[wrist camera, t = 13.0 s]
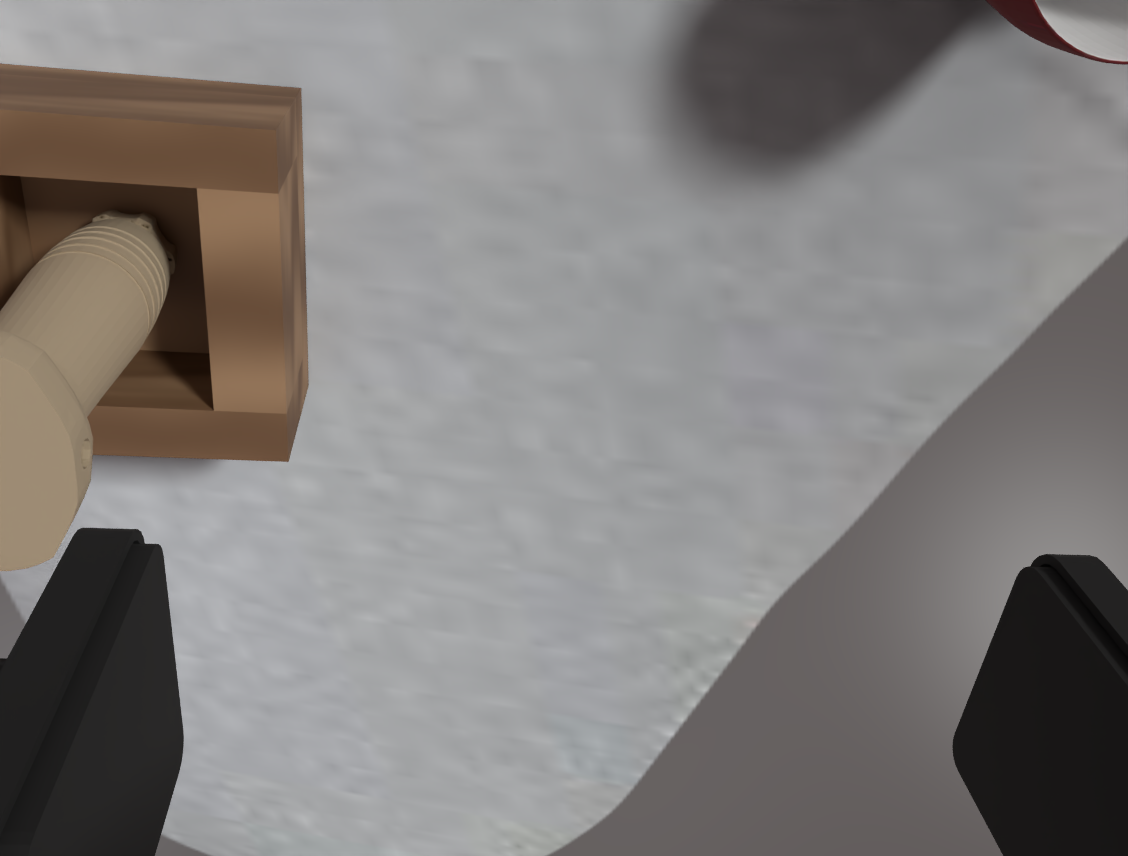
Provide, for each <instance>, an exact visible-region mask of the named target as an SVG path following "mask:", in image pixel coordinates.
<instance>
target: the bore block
mask: <svg viewBox="0 0 1128 856" xmlns="http://www.w3.org/2000/svg"><path fill="white" fill-rule="evenodd" d="M111 209H116V210H118V211H119V212H121V213H125V214H140V213H142V212H146V213H149V214H151V215H152V216H154V217H155V218H156V220H157V225H158V228H159V230H160V231H161V233H162V235H163V236H164V237H165V238H166V240H167V241H168V242H169V243H171V244H173V245H175V246H176V249H177V254H178V255H177V265H176V268H175V271H174V273H173V274H170V282H169V287H168V291H167V295H166V298H165V301H164V303H163V306H162V308H161V310H160V313H159V315H158V317H157V320H156V322H155V324H154V326H153V328H152V330H151V331H150V333H149V335H148V337H147V338H146V340H145V342H144V343H143V345H142V347H141V348H140V350H139V351H138V352H137V354H136V355H135V356H134V357H133V359H132V360H131V361H130V363H129V364H128V365H127V366H126V368H125V369H124V370H123V371H122V373H121V374H120V375H119V376H118V378H117V379H116V380H115V382H114V383H113V384H112V385H111V387H110V388H109V389H108V390H107V392H106V393H105V394H104V395H103V397H102V398H101V399H100V401H99V402H98V403H97V405H96V406H95V407H94V409H93V410H92V411H91V413H90V414H89V415H88V417H87V419H88V421H89V424H90V428H91V432H92V436H93V455H117V456H144V457H172V458H200V459H228V460H256V461H283V462H288V461H289V458H290V454H291V450H292V446H293V442H294V439H295V435H296V431H297V427H298V423H299V420H300V416H301V412H302V408H303V404H304V401H305V397H306V393H307V389H308V385H309V384H308V344H307V304H306V263H305V223H304V183H303V142H302V102H301V88H293V87H281V86H269V85H256V84H244V83H232V82H219V81H207V80H195V79H182V78H170V77H158V76H145V75H133V74H121V73H108V72H96V71H84V70H71V69H59V68H47V67H34V66H22V65H10V64H0V311H1V309H2V308H3V307H4V305H5V304H6V302H7V301H8V300H9V298H10V297H11V296H12V294H13V293H14V291H15V290H16V289H17V287H18V286H19V285H20V283H21V282H22V280H23V279H24V278H25V276H26V275H27V274H28V273H29V271H30V270H31V269H32V268H33V267H34V266H35V265H36V264H37V263H38V262H39V261H40V260H41V259H42V258H43V257H44V256H45V255H46V254H47V253H48V252H49V251H50V250H51V249H52V248H53V247H54V246H56V245H57V244H58V243H60V242H61V241H62V240H63V239H65V238H66V237H67V236H69V235H70V234H71V233H73V232H75V231H76V230H78V229H80V228H82V227H84V226H86V225H88V224H90V223H92V219H93V218H94V217H96V216H97V215H99V214H101V213H103V212H105V211H108V210H111Z"/></svg>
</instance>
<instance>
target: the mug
mask: <svg viewBox="0 0 1128 856" xmlns="http://www.w3.org/2000/svg"><path fill="white" fill-rule="evenodd" d="M986 1H987V2H988V3H989V4H990V5H991V6H992V7H993V8H994V9H996V10H997V11H998V12H999V13H1000V14H1001V15H1002V16H1003V17H1004V18H1006V19H1007V20H1008V21H1009V22H1010V23H1012V24H1013V25H1014V26H1015V27H1017V28H1018V29H1020V30H1021V31H1023V32H1024V33H1026V34H1027V35H1029V36H1030V37H1032V38H1034V39H1036V40H1038V41H1040V42H1042V43H1045V44H1047V45H1049V46H1052V47H1055V48H1057V49H1060V50H1063V51H1066V52H1069V53H1072V54H1074V55H1078V56H1081V57H1085V58H1088V59H1091V60H1095V61H1100V62H1104V63H1113V64H1128V0H986Z"/></svg>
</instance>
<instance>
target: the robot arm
mask: <svg viewBox="0 0 1128 856" xmlns="http://www.w3.org/2000/svg"><path fill="white" fill-rule="evenodd" d="M183 741H184V736H183V724H182V716H181V707H180V698H179V689H178V680H177V671H176V662H175V653H174V645H173V636H172V627H171V618H170V609H169V600H168V591H167V582H166V574H165V565H164V556H163V551H162V548H161V546H160V545H159V544H145V543H144V537H143V535H142V533H141V531H139V530H138V529H106V528H81V529H79V530H77V532H76V533H75V534H74V536H73V537H72V539H71V541H70V543H69V545H68V547H67V549H66V550H65V552H64V554H63V556H62V558H61V560H60V562H59V563H58V565H57V567H56V569H55V571H54V573H53V575H52V576H51V578H50V580H49V582H48V584H47V586H46V588H45V589H44V591H43V593H42V595H41V597H40V599H39V601H38V602H37V604H36V606H35V608H34V610H33V612H32V614H31V615H30V617H29V619H28V621H27V623H26V625H25V626H24V629H23V630H22V632H21V634H20V636H19V638H18V640H17V641H16V643H15V645H14V647H13V649H12V651H11V653H10V654H9V656H8V658H7V659H0V856H155V853H156V849H157V846H158V843H159V839H160V836H161V832H162V829H163V825H164V822H165V819H166V815H167V812H168V808H169V805H170V801H171V798H172V795H173V791H174V788H175V784H176V781H177V778H178V774H179V770H180V766H181V761H182V755H183ZM953 756H954V760H955V764H956V767H957V769H958V771H959V773H960V775H961V777H962V779H963V781H964V782H965V785H966V786H967V788H968V790H969V792H970V793H971V796H972V798H973V800H974V802H975V803H976V805H977V807H978V809H979V811H980V813H981V815H982V816H983V818H984V820H985V822H986V824H987V826H988V828H989V829H990V832H991V833H992V835H993V837H994V839H995V841H996V843H997V845H998V847H999V848H1000V850H1001V852H1002V854H1003V856H1128V590H1127V589H1126V588H1125V587H1124V586H1123V584H1122V583H1121V582H1120V581H1119V580H1118V579H1117V578H1116V576H1115V575H1114V574H1113V573H1112V572H1111V571H1110V570H1109V569H1108V567H1107V566H1106V565H1105V564H1104V563H1103V562H1102V561H1101V560H1099V559H1098V558H1097V557H1093V556H1090V555H1055V554H1045V555H1041V556H1039V557H1037V558H1036V559H1035V560H1034V561H1033V563H1032V564H1031V566H1030V567H1025V568H1023V569H1022V570H1021V571H1020V572H1019V574H1018V576H1017V577H1016V580H1015V582H1014V585H1013V587H1012V590H1011V593H1010V595H1009V598H1008V600H1007V603H1006V605H1005V608H1004V610H1003V613H1002V615H1001V618H1000V621H999V623H998V625H997V628H996V631H995V633H994V636H993V638H992V641H991V643H990V646H989V648H988V651H987V654H986V656H985V659H984V661H983V663H982V666H981V669H980V671H979V674H978V676H977V679H976V681H975V684H974V686H973V689H972V691H971V694H970V697H969V699H968V701H967V704H966V707H965V709H964V712H963V714H962V717H961V719H960V722H959V724H958V727H957V729H956V732H955V735H954V739H953Z"/></svg>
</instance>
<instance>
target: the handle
mask: <svg viewBox="0 0 1128 856" xmlns="http://www.w3.org/2000/svg"><path fill="white" fill-rule="evenodd" d="M177 255H178V254H177V249H176V246H175V245H173V244H171V243H169V242H168V241H167V240H166V238H165V237H164V236H163V235H162V233H161V231H160V230H159V228H158V225H157V220H156V218H155V217H154V216H152V215H151V214H149V213H146V212H142V213H140V214H125V213H121V212H119V211H118V210H116V209H111V210H108V211H105V212H103V213H101V214H99V215H97V216H96V217H94V218H93V219H92V223H90V224H88V225H86V226H84V227H82V228H80V229H78V230H76V231H75V232H73V233H71V234H70V235H69V236H67V237H66V238H65V239H63V240H62V241H61V242H60V243H58V244H57V245H56V246H54V247H53V248H52V249H51V250H50V251H49V252H48V253H47V254H46V255H45V256H44V257H43V258H42V259H41V260H40V261H39V262H38V263H37V264H36V265H35V266H34V267H33V268H32V269H31V270H30V271H29V273H28V274H27V275H26V276H25V278H24V279H23V280H22V282H21V283H20V285H19V286H18V287H17V289H16V290H15V291H14V293H13V294H12V296H11V297H10V298H9V300H8V301H7V302H6V304H5V305H4V307H3V308H2V309H1V311H0V571H11V570H18V569H25V568H29V567H32V566H35V565H38V564H41V563H43V562H45V561H47V560H49V559H51V558H53V557H54V555H55V553H56V551H57V550H58V548H59V546H60V544H61V542H62V540H63V539H64V537H65V535H66V533H67V531H68V529H69V527H70V525H71V523H72V521H73V519H74V518H75V516H76V514H77V512H78V509H79V507H80V505H81V503H82V501H83V499H84V497H85V494H86V491H87V489H88V486H89V483H90V481H91V469H92V456H93V436H92V432H91V428H90V424H89V421H88V419H87V417H88V415H89V414H90V413H91V411H92V410H93V409H94V407H95V406H96V405H97V403H98V402H99V401H100V399H101V398H102V397H103V395H104V394H105V393H106V392H107V390H108V389H109V388H110V387H111V385H112V384H113V383H114V382H115V380H116V379H117V378H118V376H119V375H120V374H121V373H122V371H123V370H124V369H125V368H126V366H127V365H128V364H129V363H130V361H131V360H132V359H133V357H134V356H135V355H136V354H137V352H138V351H139V350H140V348H141V347H142V345H143V343H144V342H145V340H146V338H147V337H148V335H149V333H150V331H151V330H152V328H153V326H154V324H155V322H156V320H157V317H158V315H159V313H160V310H161V308H162V306H163V303H164V301H165V298H166V295H167V291H168V287H169V282H170V274H173V273H174V271H175V268H176V265H177Z"/></svg>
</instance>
